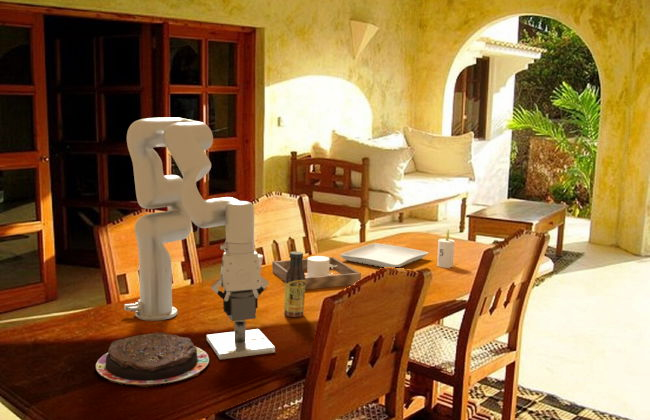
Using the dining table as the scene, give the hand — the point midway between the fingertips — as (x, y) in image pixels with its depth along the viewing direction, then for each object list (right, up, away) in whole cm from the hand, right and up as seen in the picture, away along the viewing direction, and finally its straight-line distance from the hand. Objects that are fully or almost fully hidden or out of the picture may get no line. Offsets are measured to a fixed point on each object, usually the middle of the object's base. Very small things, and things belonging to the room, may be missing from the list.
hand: (240, 312), depth 190 cm
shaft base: (0, -10, +2) cm, 10 cm away
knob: (0, -1, 0) cm, 1 cm away
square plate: (+47, +6, +100) cm, 111 cm away
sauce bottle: (+13, -5, +29) cm, 32 cm away
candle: (+71, +5, +93) cm, 117 cm away
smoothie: (-3, +1, +65) cm, 65 cm away
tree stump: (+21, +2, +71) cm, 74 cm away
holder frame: (+19, +2, +72) cm, 74 cm away
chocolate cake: (-21, -12, -12) cm, 27 cm away
